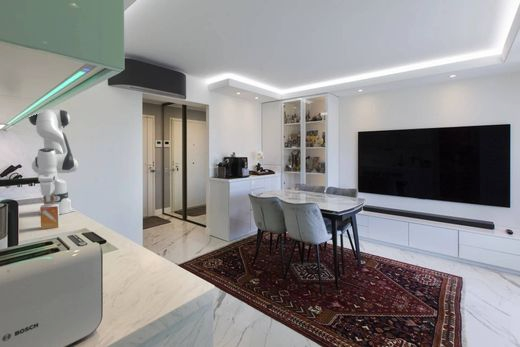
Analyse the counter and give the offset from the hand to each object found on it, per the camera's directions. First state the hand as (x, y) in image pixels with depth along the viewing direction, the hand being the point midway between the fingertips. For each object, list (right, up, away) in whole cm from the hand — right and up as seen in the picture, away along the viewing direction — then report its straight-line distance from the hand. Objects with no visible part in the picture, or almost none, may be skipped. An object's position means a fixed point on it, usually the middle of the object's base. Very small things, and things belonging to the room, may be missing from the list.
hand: (49, 200), depth 152 cm
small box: (0, -16, +2) cm, 16 cm away
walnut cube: (0, -2, 0) cm, 2 cm away
